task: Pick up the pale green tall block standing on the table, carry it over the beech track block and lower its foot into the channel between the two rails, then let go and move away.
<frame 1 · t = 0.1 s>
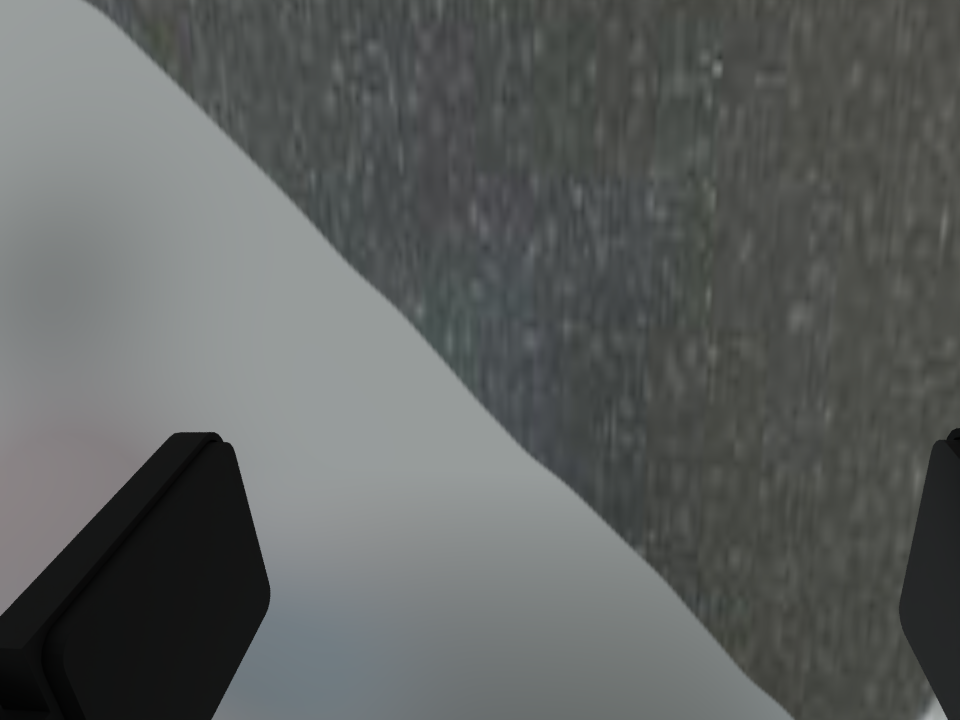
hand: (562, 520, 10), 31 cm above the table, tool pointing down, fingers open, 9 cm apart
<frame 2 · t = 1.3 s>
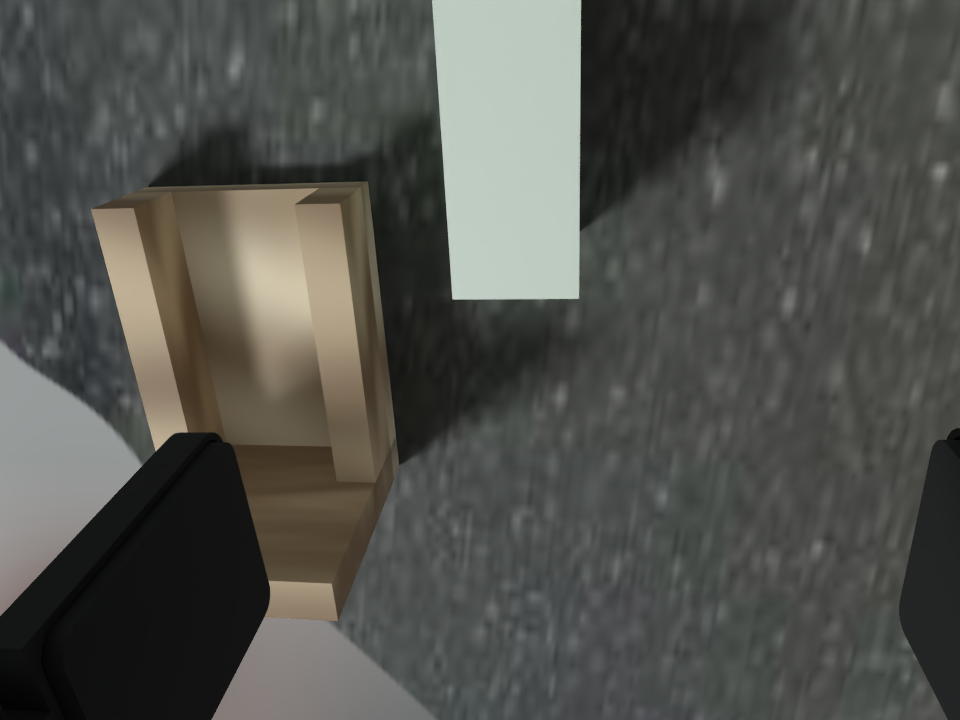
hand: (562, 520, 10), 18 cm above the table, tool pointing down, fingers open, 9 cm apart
pale green tall block: (527, 116, 25), on the table
track block: (281, 335, 30), on the table
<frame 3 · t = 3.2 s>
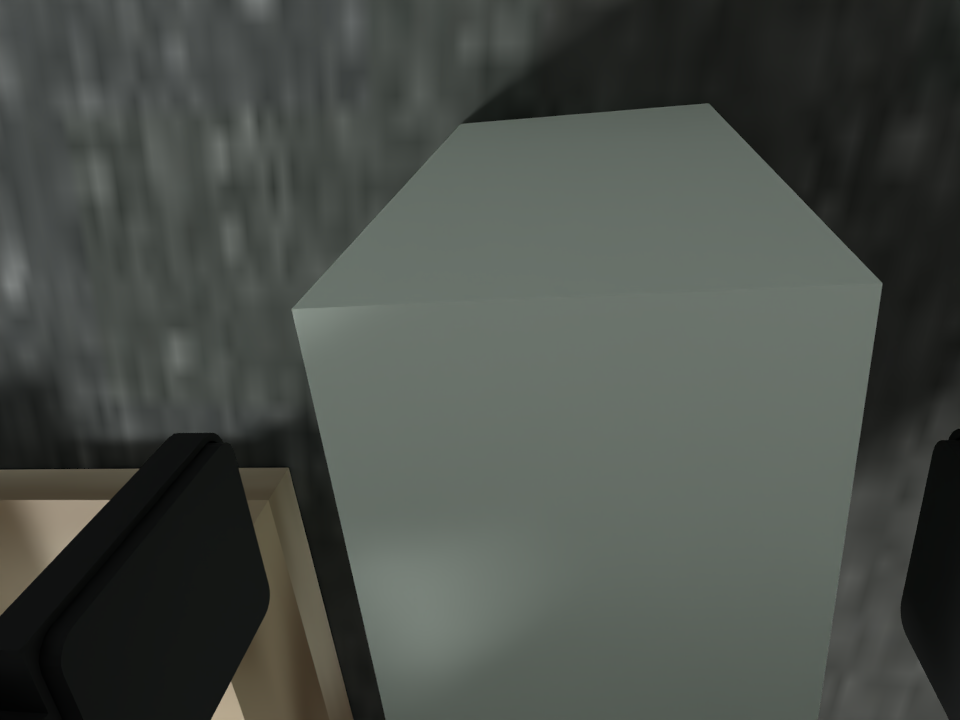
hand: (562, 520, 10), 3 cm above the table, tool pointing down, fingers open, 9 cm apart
pale green tall block: (590, 362, 12), on the table
track block: (172, 680, 17), on the table
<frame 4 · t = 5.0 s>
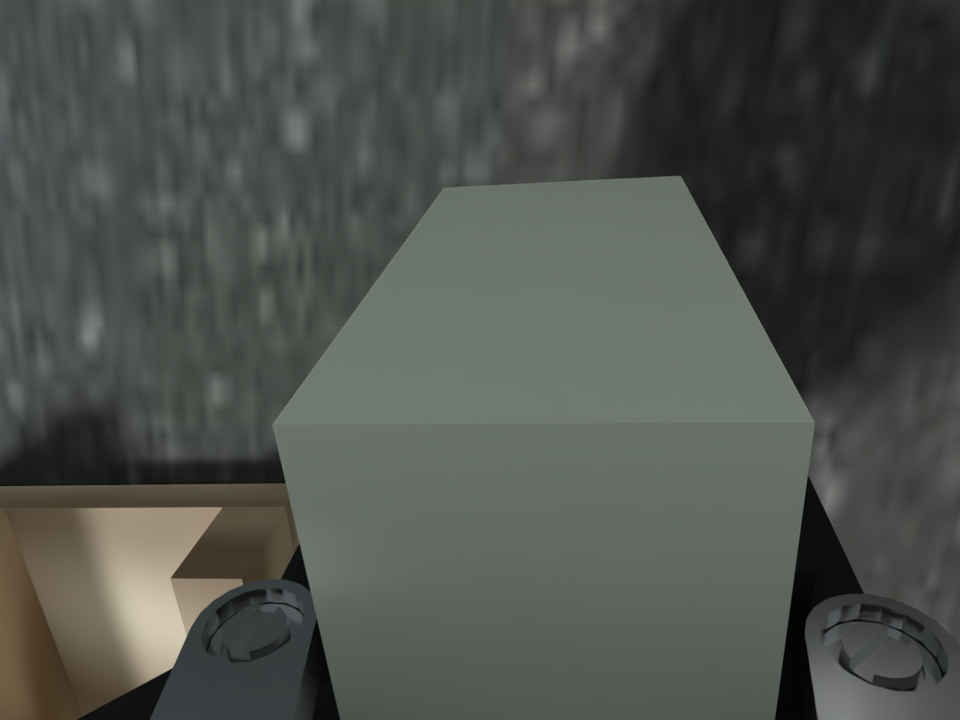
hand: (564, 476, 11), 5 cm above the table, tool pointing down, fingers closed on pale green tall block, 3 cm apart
pale green tall block: (567, 415, 13), point 3 cm above the table, touching gripper
track block: (188, 669, 21), on the table
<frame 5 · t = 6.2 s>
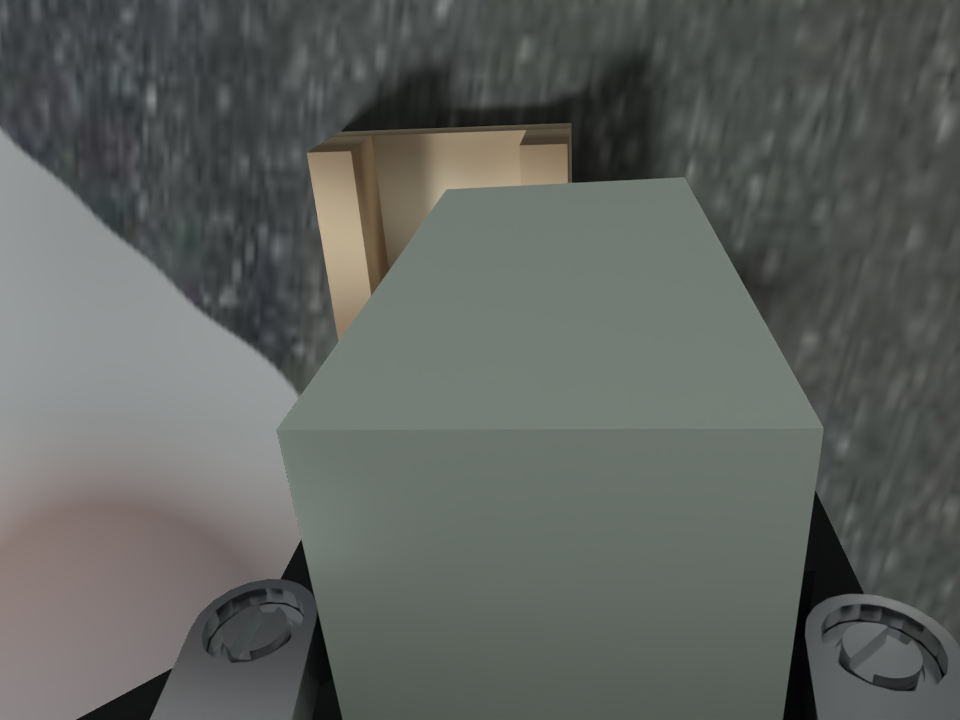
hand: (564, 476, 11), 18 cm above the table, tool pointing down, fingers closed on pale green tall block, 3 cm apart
pale green tall block: (569, 417, 13), point 16 cm above the table, touching gripper
track block: (464, 282, 30), on the table
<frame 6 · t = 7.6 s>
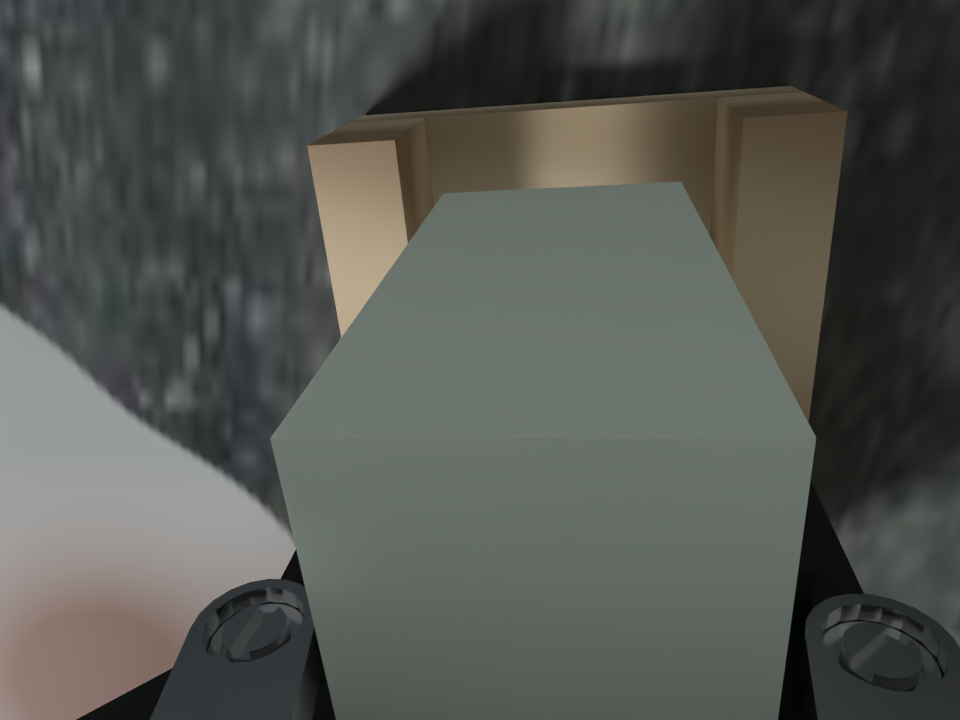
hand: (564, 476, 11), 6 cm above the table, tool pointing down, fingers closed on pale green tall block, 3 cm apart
pale green tall block: (566, 420, 13), point 5 cm above the table, touching gripper
track block: (575, 368, 17), on the table
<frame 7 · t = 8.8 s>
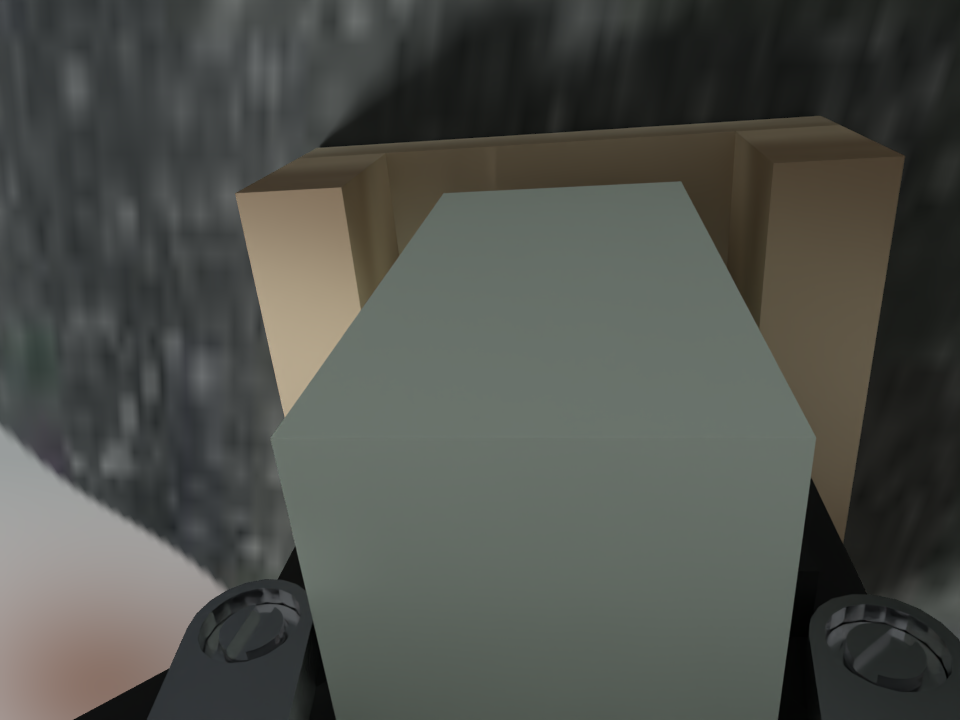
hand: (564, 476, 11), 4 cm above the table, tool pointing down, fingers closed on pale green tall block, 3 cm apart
pale green tall block: (567, 420, 13), point 2 cm above the table, touching gripper
track block: (567, 435, 15), on the table
when the fingers open (4 cm above the table, at t = 8.8 s): pale green tall block stays where it is, resting on track block.
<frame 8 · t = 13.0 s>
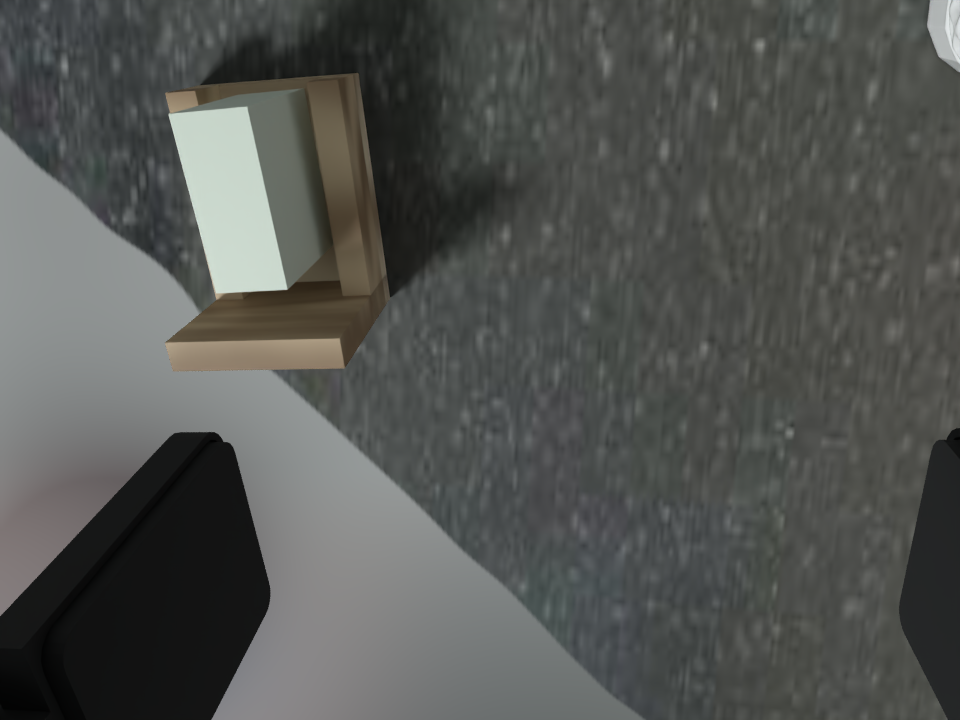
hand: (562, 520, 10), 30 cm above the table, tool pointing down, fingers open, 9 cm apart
pale green tall block: (287, 172, 39), point 1 cm above the table, touching track block
track block: (299, 196, 40), on the table
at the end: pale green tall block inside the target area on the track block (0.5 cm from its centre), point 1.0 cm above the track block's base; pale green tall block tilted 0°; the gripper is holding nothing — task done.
